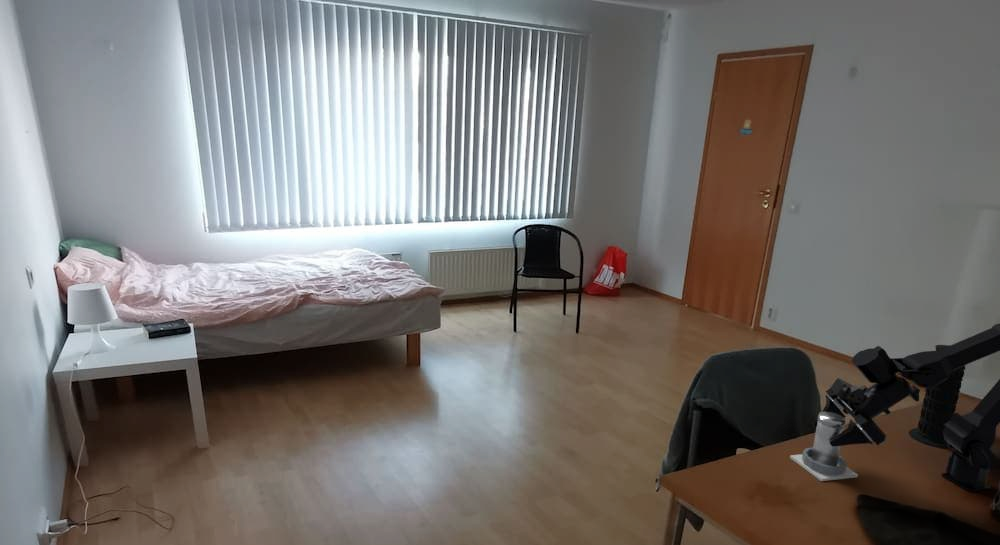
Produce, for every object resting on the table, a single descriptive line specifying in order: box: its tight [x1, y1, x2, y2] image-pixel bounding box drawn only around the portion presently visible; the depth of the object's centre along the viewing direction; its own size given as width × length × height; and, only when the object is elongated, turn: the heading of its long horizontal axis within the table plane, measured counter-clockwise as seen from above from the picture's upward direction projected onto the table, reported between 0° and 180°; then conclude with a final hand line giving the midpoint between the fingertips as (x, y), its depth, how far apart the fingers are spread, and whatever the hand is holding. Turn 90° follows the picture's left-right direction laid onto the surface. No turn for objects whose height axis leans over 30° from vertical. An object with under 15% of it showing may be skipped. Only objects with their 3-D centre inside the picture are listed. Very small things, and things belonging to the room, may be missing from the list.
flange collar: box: [789, 447, 859, 482], centre depth 131 cm, size 10×10×3 cm
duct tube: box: [811, 411, 846, 466], centre depth 130 cm, size 6×6×12 cm
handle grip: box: [908, 344, 966, 449], centre depth 144 cm, size 10×26×10 cm
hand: (822, 434), depth 130 cm, fingers open, 9 cm apart
